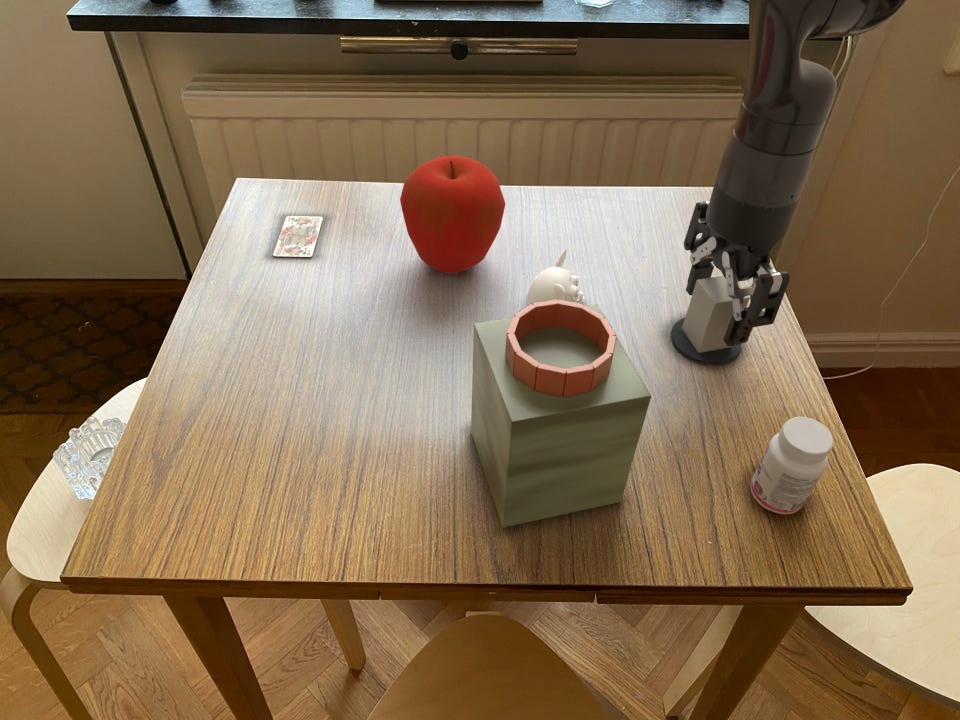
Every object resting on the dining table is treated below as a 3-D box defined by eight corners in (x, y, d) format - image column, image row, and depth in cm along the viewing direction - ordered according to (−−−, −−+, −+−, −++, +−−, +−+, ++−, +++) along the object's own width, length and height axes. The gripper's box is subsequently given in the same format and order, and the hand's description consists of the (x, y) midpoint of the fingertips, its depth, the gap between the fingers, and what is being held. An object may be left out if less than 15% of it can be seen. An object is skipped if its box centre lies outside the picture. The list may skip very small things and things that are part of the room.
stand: (621, 502, 63) (651, 395, 53) (502, 528, 61) (511, 422, 51) (577, 411, 70) (597, 303, 61) (470, 431, 68) (473, 323, 58)
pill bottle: (747, 468, 66) (776, 408, 60) (800, 477, 65) (834, 417, 59) (750, 510, 63) (781, 451, 57) (806, 520, 62) (843, 462, 56)
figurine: (582, 340, 78) (590, 294, 73) (524, 336, 78) (528, 289, 74) (581, 295, 84) (588, 249, 79) (527, 290, 84) (531, 244, 79)
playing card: (311, 256, 87) (311, 256, 87) (272, 256, 87) (272, 256, 87) (323, 216, 94) (323, 216, 94) (286, 216, 94) (286, 215, 94)
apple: (489, 303, 82) (493, 197, 72) (390, 286, 84) (382, 180, 74) (510, 243, 91) (517, 141, 81) (420, 228, 92) (416, 127, 83)
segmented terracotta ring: (627, 385, 54) (633, 362, 52) (524, 404, 52) (526, 381, 50) (588, 316, 59) (592, 293, 58) (494, 331, 58) (495, 308, 56)
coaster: (753, 358, 77) (754, 355, 76) (689, 370, 75) (690, 367, 75) (719, 313, 82) (720, 311, 81) (659, 323, 80) (659, 321, 80)
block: (731, 347, 77) (750, 297, 72) (698, 353, 76) (714, 303, 71) (713, 323, 80) (730, 274, 75) (681, 329, 79) (696, 279, 74)
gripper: (842, 219, 60) (780, 356, 72) (754, 141, 70) (712, 272, 81) (764, 230, 59) (714, 368, 70) (686, 149, 69) (653, 281, 80)
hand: (713, 316), depth 76 cm, fingers open, 8 cm apart
